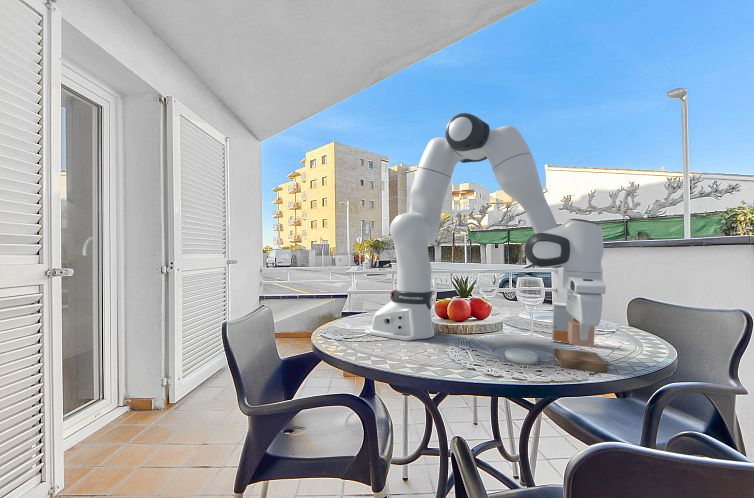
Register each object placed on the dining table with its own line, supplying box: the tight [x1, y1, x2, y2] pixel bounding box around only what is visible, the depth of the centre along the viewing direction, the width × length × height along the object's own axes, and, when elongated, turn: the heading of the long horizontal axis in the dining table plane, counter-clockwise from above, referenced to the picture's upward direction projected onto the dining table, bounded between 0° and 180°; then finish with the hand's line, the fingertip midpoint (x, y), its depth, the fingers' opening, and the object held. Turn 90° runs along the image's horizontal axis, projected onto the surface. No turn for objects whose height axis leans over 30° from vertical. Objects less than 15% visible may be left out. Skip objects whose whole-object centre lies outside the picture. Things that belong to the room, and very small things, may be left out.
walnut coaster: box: [553, 348, 608, 373], centre depth 95 cm, size 10×10×2 cm
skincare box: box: [551, 302, 574, 346], centre depth 116 cm, size 6×4×12 cm
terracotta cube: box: [568, 321, 596, 347], centre depth 95 cm, size 5×5×5 cm
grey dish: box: [504, 348, 538, 365], centre depth 97 cm, size 8×8×2 cm
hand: (580, 336), depth 95 cm, fingers closed on terracotta cube, 5 cm apart
